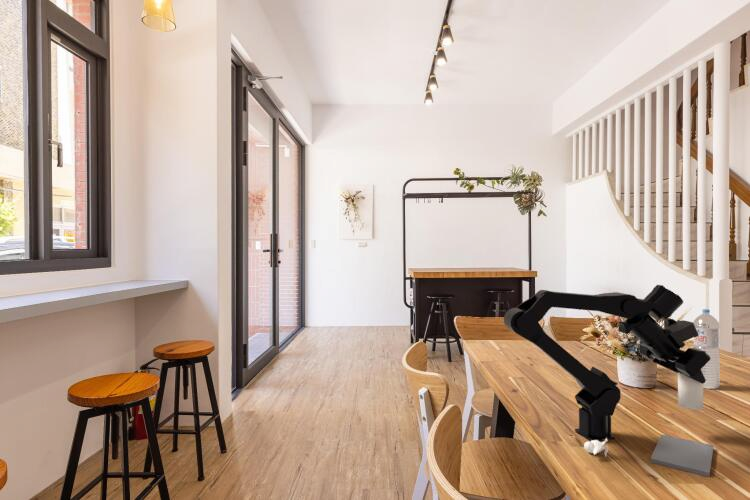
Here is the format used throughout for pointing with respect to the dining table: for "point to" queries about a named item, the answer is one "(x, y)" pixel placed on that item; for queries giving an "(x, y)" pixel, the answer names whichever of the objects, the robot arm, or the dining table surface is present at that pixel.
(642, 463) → the dining table surface
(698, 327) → the water bottle
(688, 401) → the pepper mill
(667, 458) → the slate board
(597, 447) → the toy bird
